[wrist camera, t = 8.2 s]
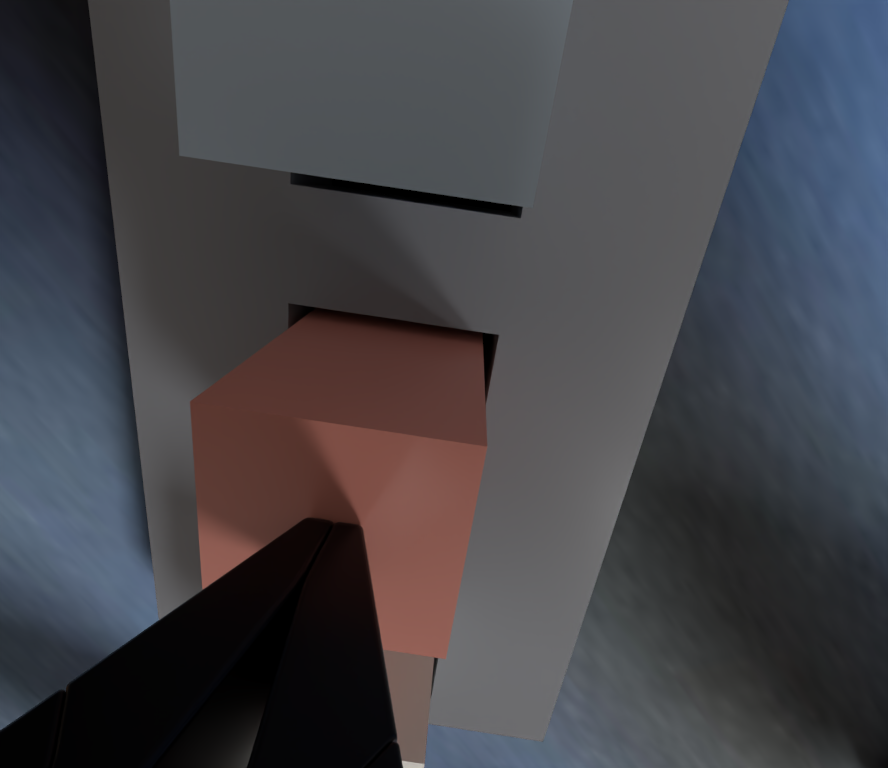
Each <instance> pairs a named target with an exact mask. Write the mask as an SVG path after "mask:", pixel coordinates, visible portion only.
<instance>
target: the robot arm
mask: <svg viewBox="0 0 888 768" xmlns="http://www.w3.org/2000/svg"><path fill="white" fill-rule="evenodd" d="M0 768H403V765H402V759H401V753H400V747H399V744H398V743H397V731H396V725H395V718H394V712H393V706H392V700H391V694H390V688H389V682H388V676H387V670H386V664H385V658H384V652H383V646H382V640H381V634H380V628H379V622H378V616H377V610H376V604H375V598H374V592H373V586H372V580H371V574H370V568H369V562H368V555H367V549H366V543H365V537H364V531H363V528H362V526H360V525H357V524H351V523H344V522H337V523H335V524H334V523H333V522H332V521H330V520H325V519H318V518H312V517H308V518H305V519H303V520H301V521H300V522H299V523H297V524H296V525H294V526H293V527H291V528H290V529H289V530H287V531H286V532H284V533H283V534H281V535H280V536H279V537H277V538H276V539H274V540H273V541H271V542H270V543H269V544H267V545H266V546H264V547H263V548H261V549H260V550H259V551H257V552H256V553H254V554H253V555H251V556H250V557H249V558H247V559H246V560H244V561H243V562H241V563H240V564H239V565H237V566H236V567H234V568H233V569H231V570H230V571H229V572H227V573H226V574H224V575H223V576H221V577H220V578H219V579H217V580H216V581H214V582H213V583H211V584H210V585H209V586H207V587H206V588H204V589H203V590H201V591H200V592H199V593H197V594H196V595H194V596H193V597H191V598H190V599H188V600H187V601H186V602H184V603H183V604H181V605H180V606H178V607H177V608H176V609H174V610H173V611H171V612H170V613H168V614H167V615H166V616H164V617H163V618H161V619H160V620H158V621H157V622H156V623H154V624H153V625H151V626H150V627H148V628H147V629H146V630H144V631H143V632H141V633H140V634H138V635H137V636H136V637H134V638H133V639H131V640H130V641H128V642H127V643H126V644H124V645H123V646H121V647H120V648H118V649H117V650H116V651H114V652H113V653H111V654H110V655H108V656H107V657H106V658H104V659H103V660H101V661H100V662H98V663H97V664H96V665H94V666H93V667H91V668H90V669H88V670H87V671H86V672H84V673H83V674H81V675H80V676H78V677H77V678H76V679H74V680H73V681H71V682H70V683H69V684H68V685H67V687H66V692H65V690H58V691H57V692H55V693H54V694H52V695H51V696H49V697H48V698H46V699H45V700H44V701H42V702H41V703H39V704H38V705H36V706H35V707H34V708H32V709H31V710H29V711H28V712H26V713H25V714H24V715H22V716H21V717H19V718H18V719H16V720H15V721H13V722H12V723H10V724H9V725H7V726H6V727H5V728H3V729H2V730H0Z"/></svg>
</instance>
